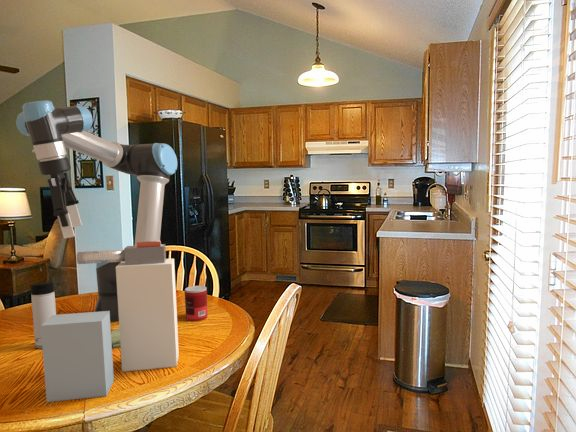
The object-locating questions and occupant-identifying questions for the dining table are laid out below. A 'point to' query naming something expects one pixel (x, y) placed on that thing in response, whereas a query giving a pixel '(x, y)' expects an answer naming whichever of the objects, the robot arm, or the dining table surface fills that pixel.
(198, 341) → the dining table surface
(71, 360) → the low stand
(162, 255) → the grey piece
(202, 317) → the canned food
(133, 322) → the tall stand
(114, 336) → the washcloth
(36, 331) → the travel mug
